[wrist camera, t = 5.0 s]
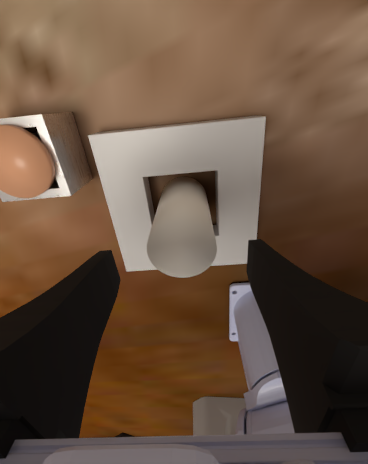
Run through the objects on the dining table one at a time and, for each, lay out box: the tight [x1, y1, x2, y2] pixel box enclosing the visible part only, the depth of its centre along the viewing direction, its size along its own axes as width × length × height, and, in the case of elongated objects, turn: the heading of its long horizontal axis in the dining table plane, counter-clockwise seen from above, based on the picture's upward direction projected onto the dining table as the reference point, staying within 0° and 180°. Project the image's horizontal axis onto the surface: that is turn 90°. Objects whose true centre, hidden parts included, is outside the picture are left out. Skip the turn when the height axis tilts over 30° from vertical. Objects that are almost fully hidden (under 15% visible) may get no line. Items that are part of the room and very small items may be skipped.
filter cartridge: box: [147, 177, 217, 278], centre depth 16 cm, size 4×4×8 cm
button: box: [0, 124, 55, 198], centre depth 15 cm, size 4×4×4 cm
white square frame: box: [88, 115, 266, 271], centre depth 19 cm, size 12×12×2 cm
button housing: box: [0, 112, 93, 202], centre depth 16 cm, size 5×5×4 cm
